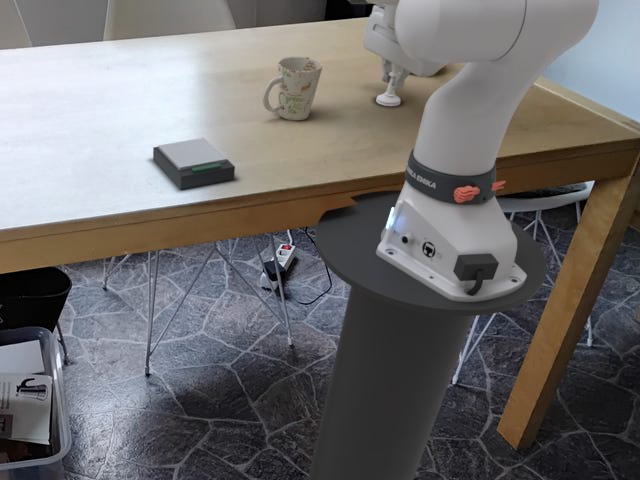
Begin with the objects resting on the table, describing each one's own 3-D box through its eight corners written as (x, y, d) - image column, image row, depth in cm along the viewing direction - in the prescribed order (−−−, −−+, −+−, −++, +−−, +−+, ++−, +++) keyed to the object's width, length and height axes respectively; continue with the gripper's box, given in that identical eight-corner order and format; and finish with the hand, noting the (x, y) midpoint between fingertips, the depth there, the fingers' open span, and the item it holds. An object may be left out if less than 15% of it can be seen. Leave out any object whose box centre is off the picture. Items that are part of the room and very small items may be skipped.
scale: (234, 179, 124) (235, 163, 122) (180, 189, 121) (181, 173, 119) (203, 151, 132) (204, 135, 130) (153, 160, 129) (153, 144, 127)
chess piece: (398, 107, 149) (410, 57, 142) (374, 104, 150) (384, 54, 143) (401, 99, 152) (412, 49, 146) (377, 96, 153) (387, 46, 147)
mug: (323, 117, 145) (331, 65, 138) (276, 131, 139) (282, 78, 133) (294, 103, 150) (301, 53, 143) (248, 116, 144) (252, 65, 138)
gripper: (362, -1, 146) (350, 69, 155) (428, 29, 132) (410, 104, 141) (388, -4, 148) (374, 66, 157) (456, 25, 133) (436, 99, 142)
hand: (392, 84), depth 149 cm, fingers closed on chess piece
